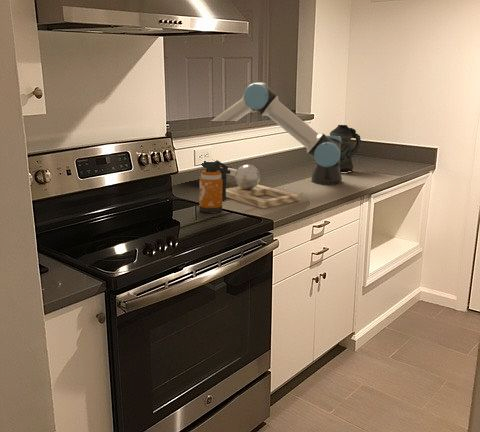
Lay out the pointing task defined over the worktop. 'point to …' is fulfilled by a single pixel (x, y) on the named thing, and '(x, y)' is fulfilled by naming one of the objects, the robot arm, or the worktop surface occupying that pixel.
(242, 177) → the ball
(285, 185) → the worktop surface
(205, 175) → the canister
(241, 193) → the light wooden flat tray
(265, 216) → the worktop surface
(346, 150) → the beer stein
